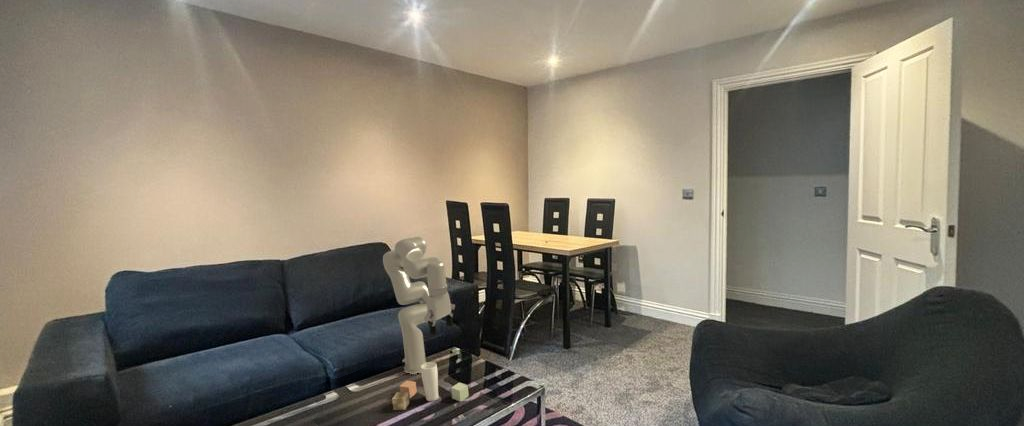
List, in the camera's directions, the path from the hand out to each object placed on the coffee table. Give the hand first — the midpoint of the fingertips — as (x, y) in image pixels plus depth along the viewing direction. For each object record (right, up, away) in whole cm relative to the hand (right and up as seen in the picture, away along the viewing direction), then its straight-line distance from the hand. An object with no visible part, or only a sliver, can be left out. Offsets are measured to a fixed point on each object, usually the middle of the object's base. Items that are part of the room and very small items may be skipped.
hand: (441, 329), depth 191 cm
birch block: (-17, -32, -1) cm, 36 cm away
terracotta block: (-16, -31, +9) cm, 36 cm away
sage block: (+8, -30, +3) cm, 31 cm away
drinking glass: (-5, -31, +4) cm, 31 cm away
